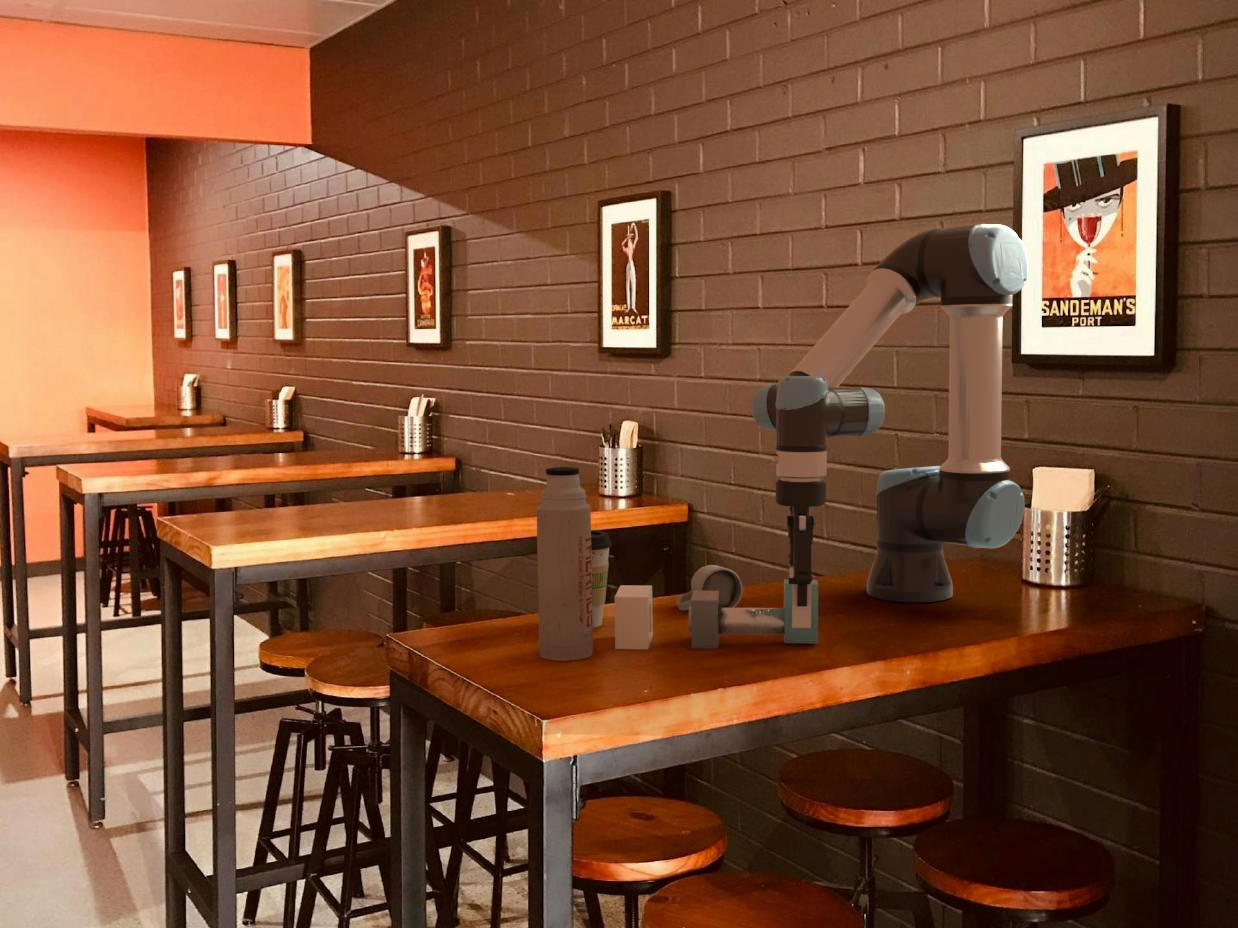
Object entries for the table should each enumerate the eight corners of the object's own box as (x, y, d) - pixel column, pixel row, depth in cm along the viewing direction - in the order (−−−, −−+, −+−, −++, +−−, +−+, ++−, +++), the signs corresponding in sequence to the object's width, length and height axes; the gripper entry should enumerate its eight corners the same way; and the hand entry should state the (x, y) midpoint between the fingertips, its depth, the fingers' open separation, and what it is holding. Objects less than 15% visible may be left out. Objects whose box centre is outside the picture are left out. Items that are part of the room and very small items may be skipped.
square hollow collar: (719, 637, 199) (718, 590, 198) (718, 648, 192) (717, 600, 191) (693, 636, 199) (693, 590, 198) (691, 648, 192) (691, 600, 191)
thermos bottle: (603, 651, 191) (600, 466, 188) (573, 663, 184) (570, 471, 181) (559, 645, 195) (556, 464, 192) (528, 656, 188) (524, 468, 185)
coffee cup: (569, 633, 203) (567, 540, 201) (543, 621, 211) (542, 532, 210) (623, 626, 207) (622, 535, 206) (596, 615, 216) (595, 527, 214)
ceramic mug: (728, 601, 225) (727, 559, 225) (743, 611, 217) (742, 567, 217) (670, 606, 223) (669, 563, 222) (684, 616, 215) (683, 571, 214)
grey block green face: (816, 637, 196) (816, 579, 195) (818, 643, 192) (818, 584, 191) (689, 635, 198) (689, 578, 197) (688, 641, 194) (688, 583, 193)
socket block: (652, 635, 201) (652, 585, 200) (648, 649, 192) (647, 597, 191) (621, 635, 201) (620, 585, 200) (615, 648, 192) (614, 596, 191)
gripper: (774, 470, 204) (773, 600, 206) (777, 487, 179) (776, 635, 181) (821, 470, 203) (819, 601, 205) (831, 487, 179) (829, 636, 181)
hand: (799, 617), depth 193 cm, fingers open, 13 cm apart
